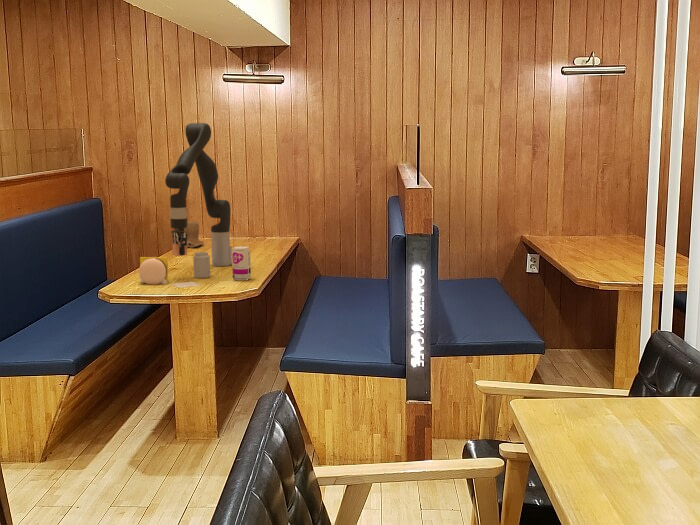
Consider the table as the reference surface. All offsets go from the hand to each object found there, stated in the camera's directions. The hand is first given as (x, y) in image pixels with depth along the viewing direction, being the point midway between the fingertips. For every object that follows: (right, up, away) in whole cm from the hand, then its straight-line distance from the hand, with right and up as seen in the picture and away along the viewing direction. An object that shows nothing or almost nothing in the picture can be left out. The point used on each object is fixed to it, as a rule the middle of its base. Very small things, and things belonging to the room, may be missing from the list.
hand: (180, 254), depth 358 cm
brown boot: (-15, +5, +102) cm, 103 cm away
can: (+9, -11, +8) cm, 16 cm away
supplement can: (+28, -12, +4) cm, 30 cm away
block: (0, 0, 0) cm, 0 cm away
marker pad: (+5, -14, -10) cm, 18 cm away
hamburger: (-10, -14, -7) cm, 18 cm away
